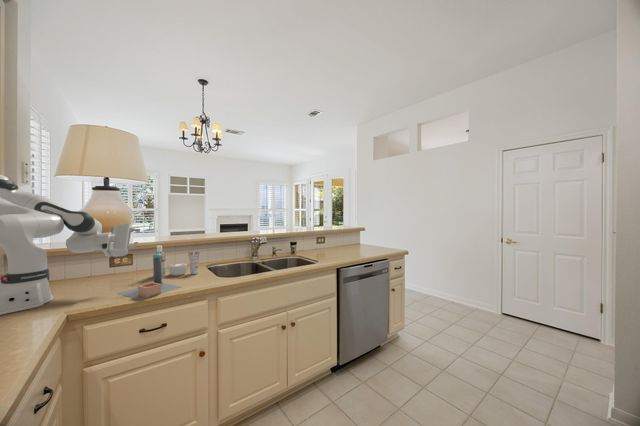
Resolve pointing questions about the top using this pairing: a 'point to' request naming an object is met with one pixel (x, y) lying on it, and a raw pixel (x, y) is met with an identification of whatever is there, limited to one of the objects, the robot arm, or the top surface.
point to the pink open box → (149, 289)
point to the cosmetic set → (179, 264)
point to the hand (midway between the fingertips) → (139, 237)
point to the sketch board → (164, 288)
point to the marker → (157, 268)
